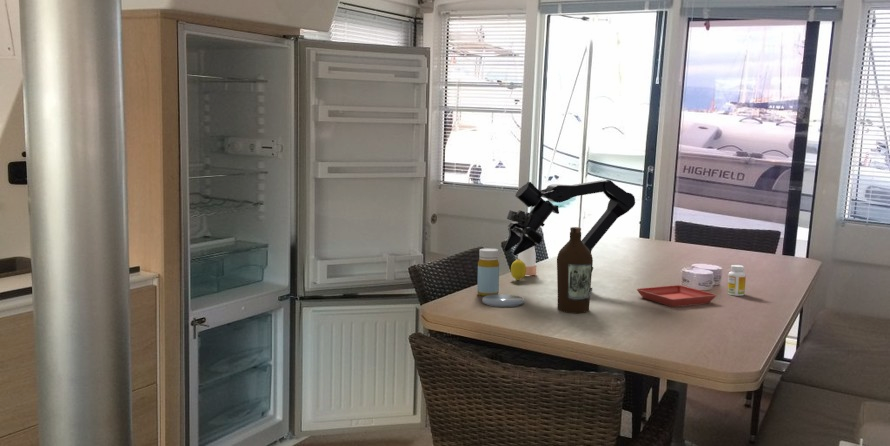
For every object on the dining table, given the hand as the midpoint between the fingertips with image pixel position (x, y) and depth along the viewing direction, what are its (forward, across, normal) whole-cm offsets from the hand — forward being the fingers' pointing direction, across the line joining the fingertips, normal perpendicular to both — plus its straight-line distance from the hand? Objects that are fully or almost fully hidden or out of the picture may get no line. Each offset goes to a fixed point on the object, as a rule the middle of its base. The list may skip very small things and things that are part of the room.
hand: (509, 252), depth 251 cm
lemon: (+4, -19, +17) cm, 25 cm away
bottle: (+16, +2, +3) cm, 16 cm away
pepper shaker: (0, -30, +22) cm, 37 cm away
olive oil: (+4, +28, +17) cm, 33 cm away
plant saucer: (-20, +22, +47) cm, 56 cm away
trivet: (+14, +14, +4) cm, 21 cm away
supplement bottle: (-36, +18, +66) cm, 78 cm away
